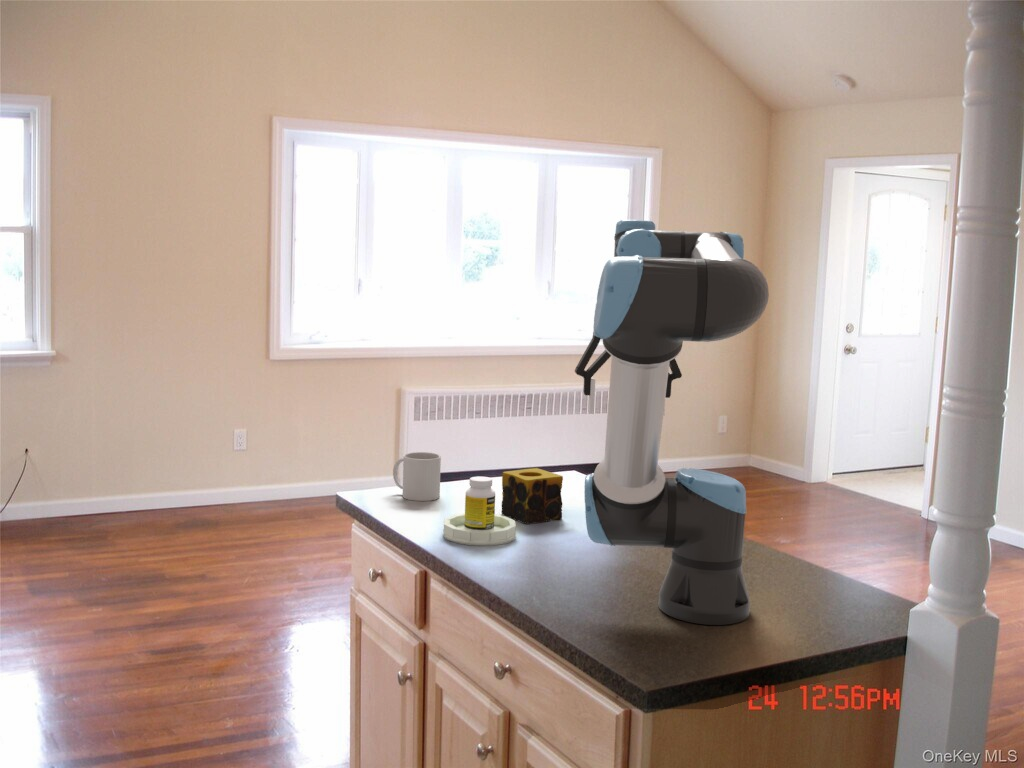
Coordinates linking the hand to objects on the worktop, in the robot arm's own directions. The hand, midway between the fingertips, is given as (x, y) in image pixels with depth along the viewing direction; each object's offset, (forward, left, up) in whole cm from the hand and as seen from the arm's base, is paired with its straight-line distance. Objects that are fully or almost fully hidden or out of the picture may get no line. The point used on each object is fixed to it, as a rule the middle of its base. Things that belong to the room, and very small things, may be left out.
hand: (625, 413), depth 193 cm
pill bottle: (+14, +27, -28) cm, 41 cm away
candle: (+30, +15, -29) cm, 44 cm away
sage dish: (+14, +27, -29) cm, 42 cm away
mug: (+47, +41, -29) cm, 69 cm away
